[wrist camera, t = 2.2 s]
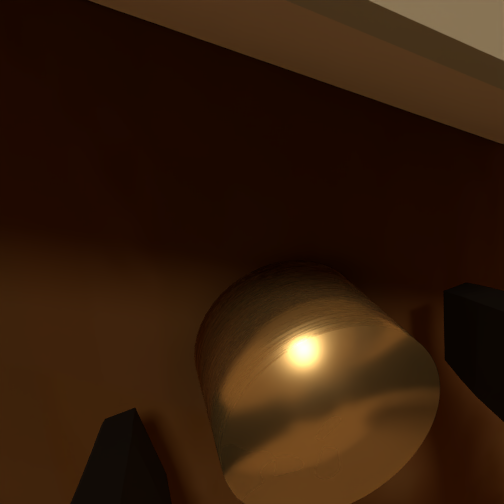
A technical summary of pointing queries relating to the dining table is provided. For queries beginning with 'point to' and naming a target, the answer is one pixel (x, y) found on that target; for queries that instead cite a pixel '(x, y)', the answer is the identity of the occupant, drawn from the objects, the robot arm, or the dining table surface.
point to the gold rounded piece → (310, 387)
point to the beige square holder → (365, 48)
